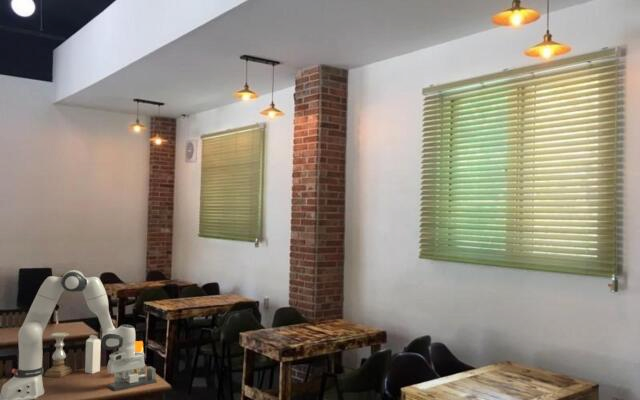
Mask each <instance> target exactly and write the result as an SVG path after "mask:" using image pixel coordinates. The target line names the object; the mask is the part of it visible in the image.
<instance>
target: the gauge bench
mask: <svg viewBox="0 0 640 400" xmlns="http://www.w3.org/2000/svg"><path fill="white" fill-rule="evenodd" d="M136 370H139V375H142V374H145V375H146V377H142V378H138V382H134V383H128V382H127V381H126V379H123V375H122V373H121V372H118V373H113V375H114V377H113V380H114V381H113V382H110V383H107V385H108V386H107V387H109V388H110V389H111V390H113V391H114V392H117V391H122V390H127V389H131V388H136V387H137V388H138V387H141V386H147V385H151V384H157V382H158V380H157V379H156V368H155V367H153V366H150V365H148V366H147V364H145V366H144V368H141V369H135V370H131V373H136ZM127 373H128V372H127V371H125V373H124V374H125V375H126V374H127Z"/></svg>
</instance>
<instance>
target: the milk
mask: <svg viewBox="0 0 640 400" xmlns="http://www.w3.org/2000/svg"><path fill="white" fill-rule="evenodd" d="M101 347H102V345H101V339H99V338H98V335H94V334H90V335H89V338H87V339H86V341H85V361H84V362H85V365H84V368H85V369H84V373H88V374H95V373H98V372H101Z"/></svg>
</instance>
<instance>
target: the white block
mask: <svg viewBox="0 0 640 400" xmlns="http://www.w3.org/2000/svg"><path fill="white" fill-rule="evenodd" d="M126 375H127V374H126ZM146 376H147V374H146V373H145V374H142V375H138V374H137V373H130V375H129V378H128V379H126V381H127V382H128V383H134V382H138V378H142V377H146Z"/></svg>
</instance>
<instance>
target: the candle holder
mask: <svg viewBox="0 0 640 400" xmlns="http://www.w3.org/2000/svg"><path fill="white" fill-rule="evenodd" d="M49 335H50V337H51V338H54V340H55V341H56V342H55V344H54V347H55V348H56V349H55V351H54V352H53V354H52V356H51V357H52V358H51V359H52V360H53V362H52V364H53V366H51V368H47V369H46V372H44V377H49V378H51V377H52V378H64V377H65V376H68V375H69V374H71V373H72V372H73V369H72V368H71V366H66V365H65V358H66V357H67V355H66V353H65V351H64V349H63V347H64V346H65V343H64V339H65V338H66V337H69V335H70V333H69V332H64V331H60V332H59V331H58V332H53V333H50V334H49Z"/></svg>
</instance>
